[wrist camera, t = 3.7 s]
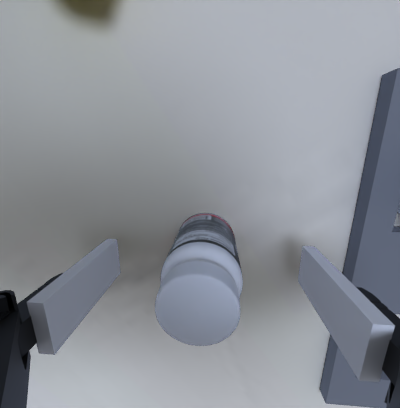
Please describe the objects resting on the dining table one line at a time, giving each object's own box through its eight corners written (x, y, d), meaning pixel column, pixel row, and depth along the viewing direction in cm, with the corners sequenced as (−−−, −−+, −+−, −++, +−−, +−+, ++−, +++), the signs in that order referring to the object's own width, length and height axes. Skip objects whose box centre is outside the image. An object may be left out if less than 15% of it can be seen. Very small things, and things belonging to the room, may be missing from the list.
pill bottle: (219, 271, 18) (222, 368, 10) (170, 250, 18) (133, 331, 10) (244, 226, 17) (269, 295, 9) (191, 202, 17) (168, 251, 9)
